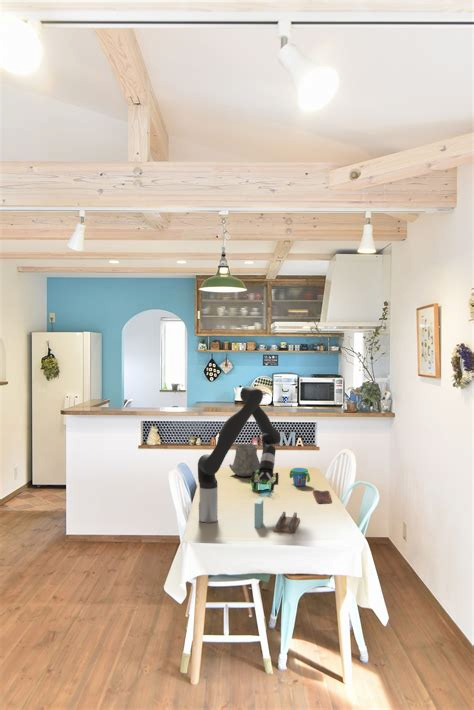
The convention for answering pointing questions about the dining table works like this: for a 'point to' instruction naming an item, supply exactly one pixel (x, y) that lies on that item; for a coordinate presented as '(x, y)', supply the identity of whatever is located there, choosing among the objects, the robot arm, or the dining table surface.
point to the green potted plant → (253, 483)
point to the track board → (287, 523)
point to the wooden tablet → (322, 497)
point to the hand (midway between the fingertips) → (263, 490)
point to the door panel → (258, 513)
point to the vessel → (245, 460)
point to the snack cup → (299, 476)
